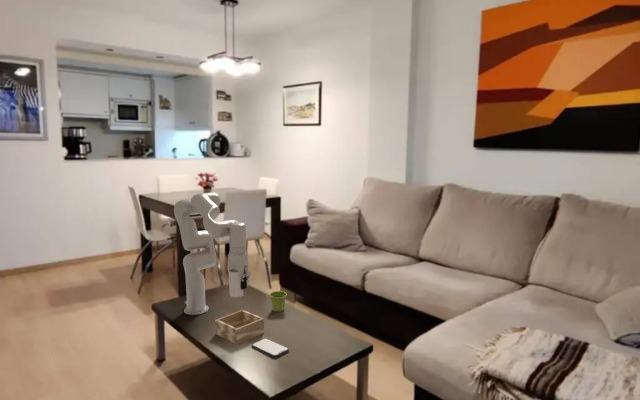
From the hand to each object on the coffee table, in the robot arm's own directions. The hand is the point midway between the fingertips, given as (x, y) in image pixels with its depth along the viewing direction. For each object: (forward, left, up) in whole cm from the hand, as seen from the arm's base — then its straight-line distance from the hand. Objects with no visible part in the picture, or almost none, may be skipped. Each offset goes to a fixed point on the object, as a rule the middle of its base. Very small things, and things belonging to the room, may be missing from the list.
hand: (238, 286), depth 196 cm
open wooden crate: (0, 0, -23) cm, 23 cm away
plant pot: (-7, +31, -23) cm, 40 cm away
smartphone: (+22, -1, -24) cm, 32 cm away
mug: (0, 0, -4) cm, 4 cm away
